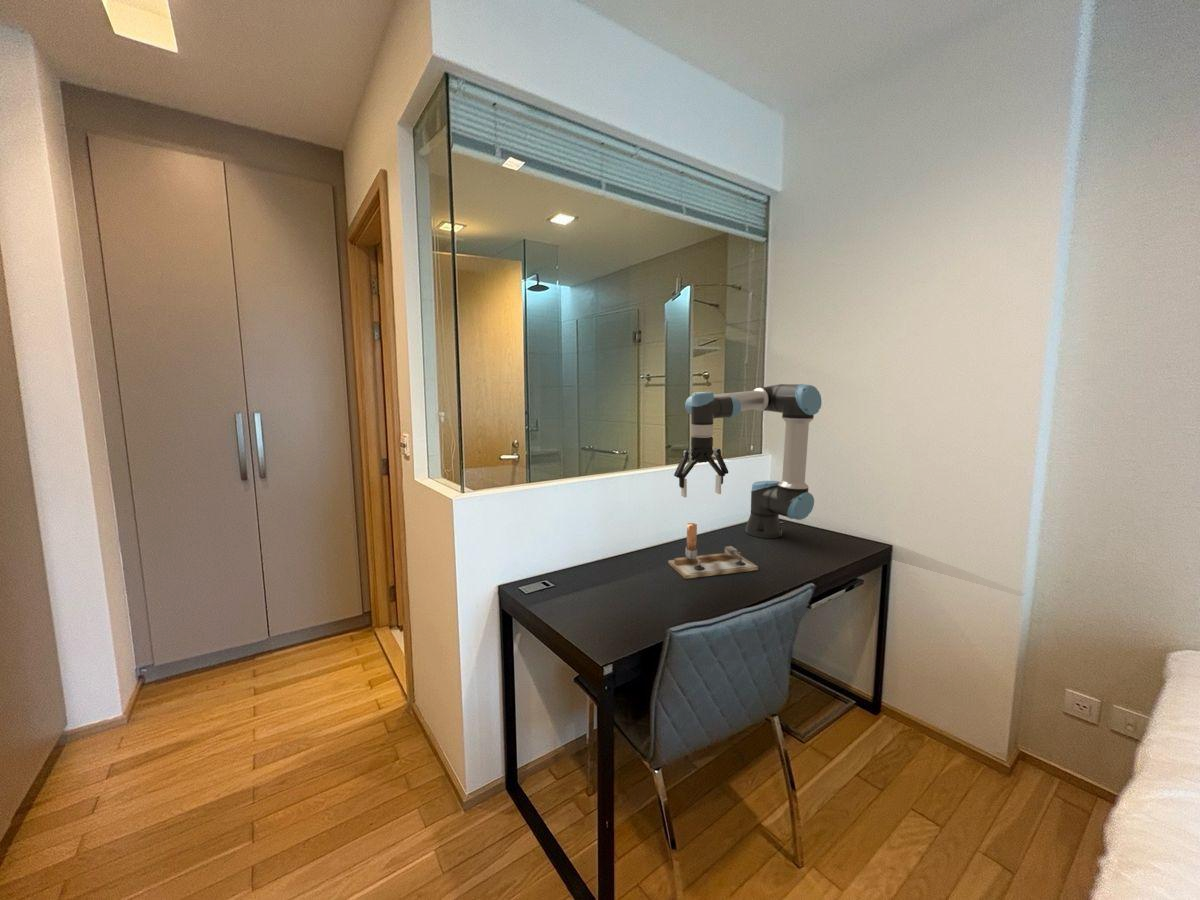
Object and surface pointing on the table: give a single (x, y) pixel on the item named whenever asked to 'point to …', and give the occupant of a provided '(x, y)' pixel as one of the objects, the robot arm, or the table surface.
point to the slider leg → (692, 542)
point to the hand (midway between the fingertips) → (701, 495)
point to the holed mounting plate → (713, 564)
